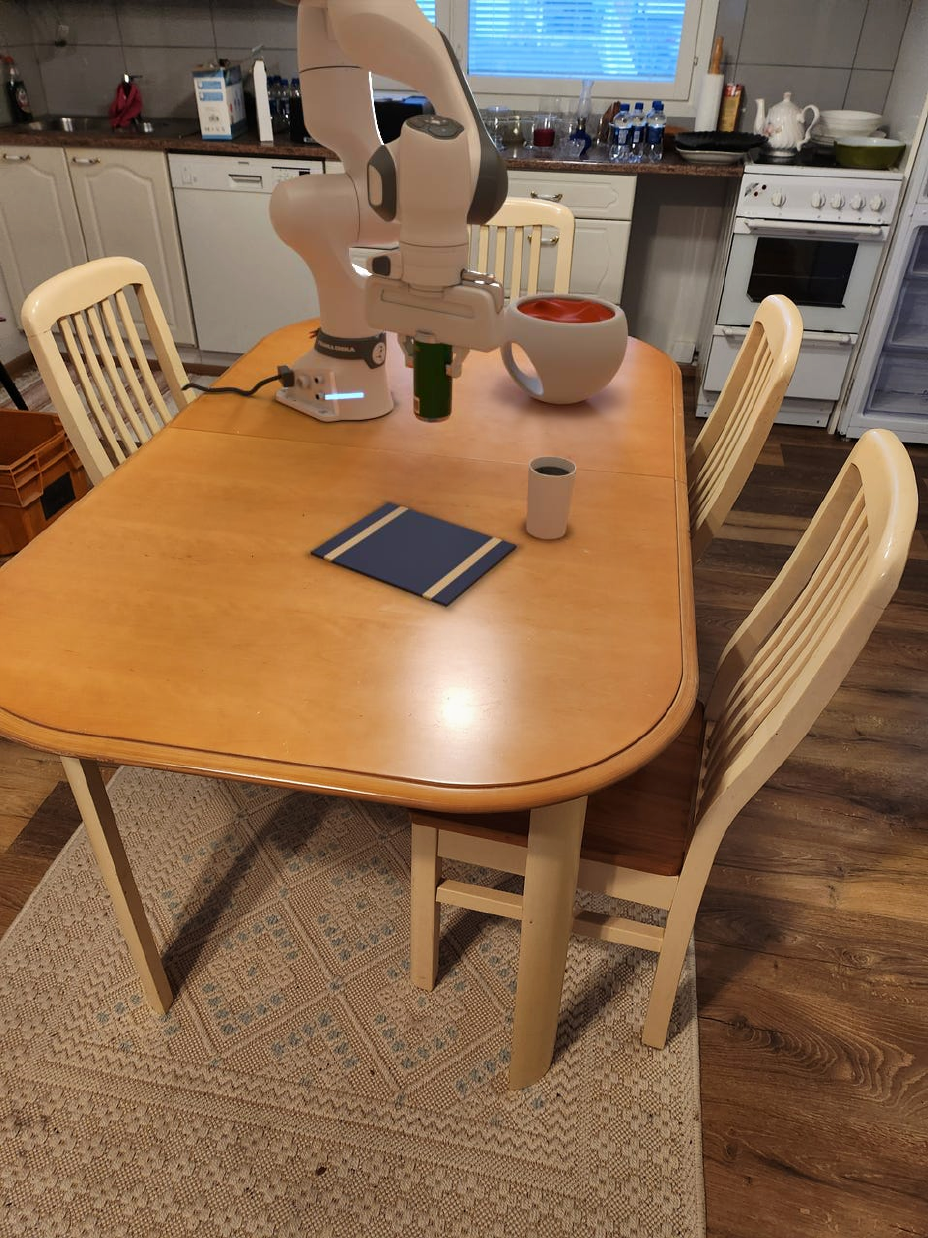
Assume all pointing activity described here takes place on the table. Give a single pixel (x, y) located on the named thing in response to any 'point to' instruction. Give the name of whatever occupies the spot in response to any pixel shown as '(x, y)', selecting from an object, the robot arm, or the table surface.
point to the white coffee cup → (549, 496)
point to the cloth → (415, 552)
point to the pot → (565, 344)
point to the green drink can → (431, 378)
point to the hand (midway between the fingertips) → (432, 371)
